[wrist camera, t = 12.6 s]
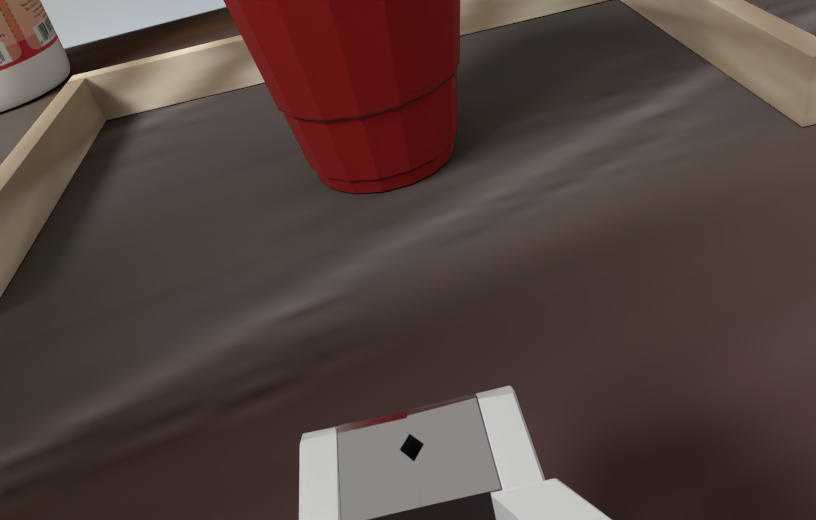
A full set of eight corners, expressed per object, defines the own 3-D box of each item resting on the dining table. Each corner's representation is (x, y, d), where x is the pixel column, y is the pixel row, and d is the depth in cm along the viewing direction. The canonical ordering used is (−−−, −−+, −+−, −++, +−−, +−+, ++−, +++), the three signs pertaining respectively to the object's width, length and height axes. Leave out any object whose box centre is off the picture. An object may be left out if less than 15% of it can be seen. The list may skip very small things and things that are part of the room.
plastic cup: (580, 159, 25) (555, -242, 18) (298, 270, 23) (150, -138, 16) (454, 77, 34) (405, -217, 27) (240, 152, 32) (127, -147, 25)
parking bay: (-40, 324, 24) (-83, 268, 23) (93, 117, 40) (72, 75, 38) (830, 120, 24) (842, 49, 23) (628, -11, 39) (627, -58, 38)
